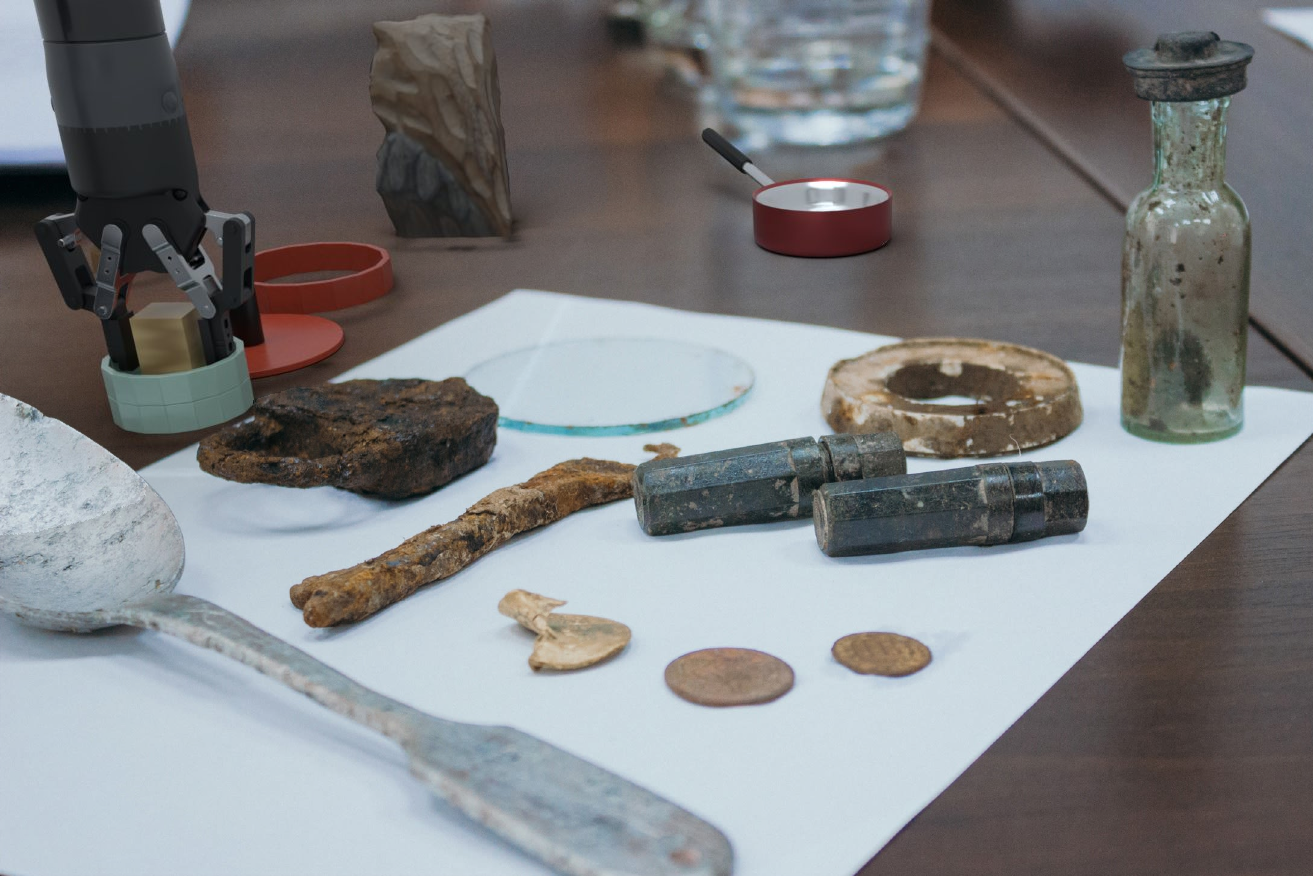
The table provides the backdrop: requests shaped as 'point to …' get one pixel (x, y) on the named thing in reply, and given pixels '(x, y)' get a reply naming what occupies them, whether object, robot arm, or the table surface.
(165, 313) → the block
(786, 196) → the frying pan
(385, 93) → the two-tone stone chunk
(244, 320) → the pan lid
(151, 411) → the bowl
